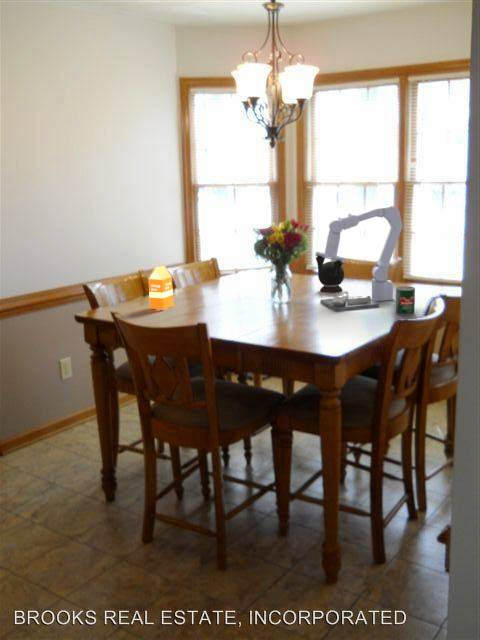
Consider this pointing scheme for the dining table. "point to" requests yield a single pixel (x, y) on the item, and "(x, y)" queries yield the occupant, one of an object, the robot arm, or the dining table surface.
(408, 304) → the canned tomato
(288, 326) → the dining table surface
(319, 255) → the robot arm
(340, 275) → the black ball on base
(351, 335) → the dining table surface
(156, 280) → the orange juice
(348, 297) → the leg
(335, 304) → the bolt plate
